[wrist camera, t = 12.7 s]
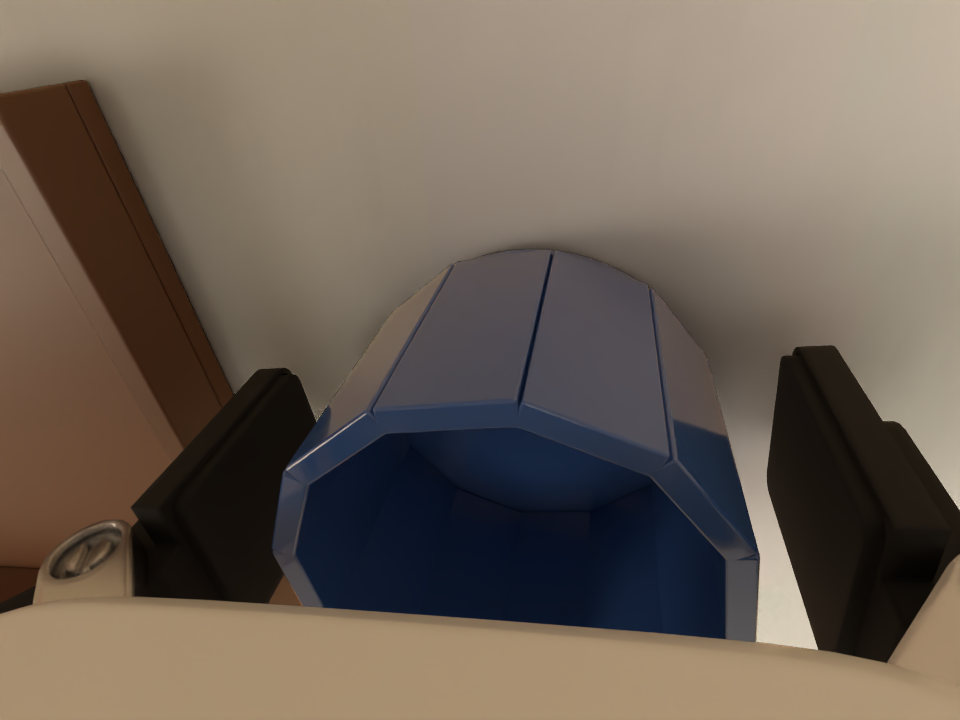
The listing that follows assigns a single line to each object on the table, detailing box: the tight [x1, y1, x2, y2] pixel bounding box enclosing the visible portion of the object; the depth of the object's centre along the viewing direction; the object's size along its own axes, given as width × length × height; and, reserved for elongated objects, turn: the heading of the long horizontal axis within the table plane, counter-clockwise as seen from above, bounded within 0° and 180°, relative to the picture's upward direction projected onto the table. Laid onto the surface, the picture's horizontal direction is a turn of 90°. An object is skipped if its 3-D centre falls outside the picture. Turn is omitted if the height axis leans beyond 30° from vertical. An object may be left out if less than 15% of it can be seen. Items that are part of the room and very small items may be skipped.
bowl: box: [271, 249, 760, 642], centre depth 10 cm, size 7×7×5 cm
